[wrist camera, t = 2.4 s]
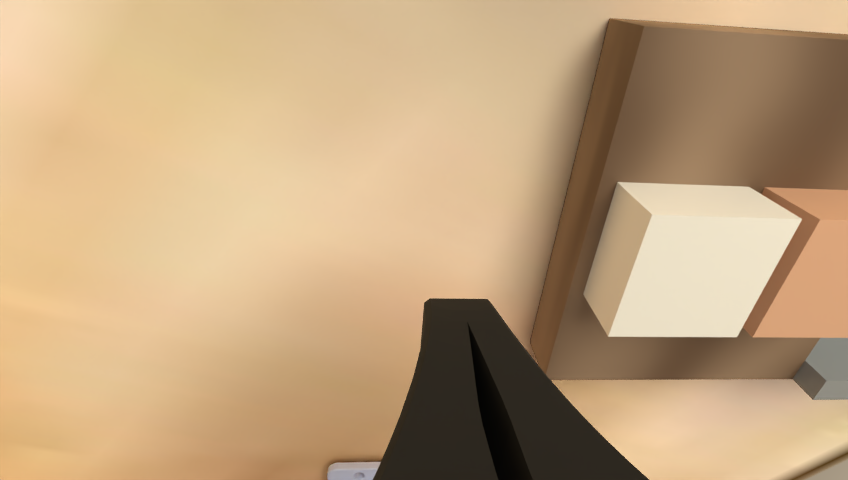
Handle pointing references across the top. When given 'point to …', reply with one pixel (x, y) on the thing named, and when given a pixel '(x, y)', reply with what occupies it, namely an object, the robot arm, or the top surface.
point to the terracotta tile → (807, 270)
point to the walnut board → (690, 174)
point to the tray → (825, 370)
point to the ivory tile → (685, 259)
